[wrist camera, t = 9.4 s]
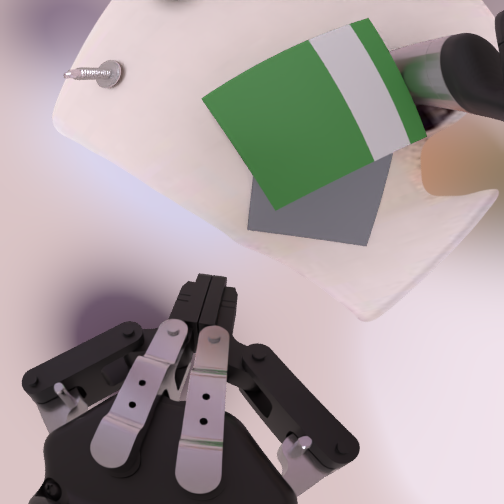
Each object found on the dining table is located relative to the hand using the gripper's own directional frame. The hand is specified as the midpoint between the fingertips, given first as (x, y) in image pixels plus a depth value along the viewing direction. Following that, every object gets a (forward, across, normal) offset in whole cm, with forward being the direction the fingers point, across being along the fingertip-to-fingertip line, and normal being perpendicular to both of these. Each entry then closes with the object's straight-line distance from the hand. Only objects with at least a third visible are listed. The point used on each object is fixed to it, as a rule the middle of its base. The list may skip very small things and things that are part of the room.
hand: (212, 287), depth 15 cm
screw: (+31, +24, -14) cm, 42 cm away
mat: (+31, -11, 0) cm, 33 cm away
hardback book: (+26, +1, -2) cm, 27 cm away
